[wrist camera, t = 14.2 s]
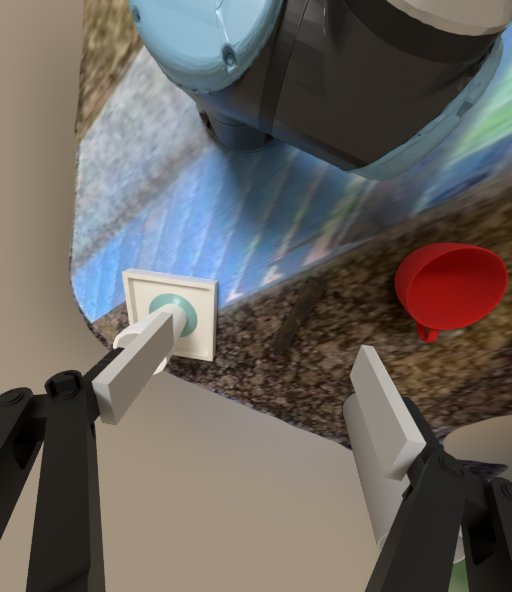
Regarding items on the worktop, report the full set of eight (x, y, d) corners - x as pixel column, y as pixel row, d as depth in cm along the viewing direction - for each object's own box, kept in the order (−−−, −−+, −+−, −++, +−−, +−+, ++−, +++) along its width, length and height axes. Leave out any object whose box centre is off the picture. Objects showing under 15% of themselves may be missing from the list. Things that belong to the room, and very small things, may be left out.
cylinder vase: (335, 393, 57) (368, 528, 34) (390, 382, 54) (466, 522, 31) (349, 428, 61) (386, 568, 38) (400, 419, 58) (474, 566, 35)
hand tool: (309, 272, 46) (311, 281, 41) (327, 282, 46) (330, 291, 42) (263, 341, 54) (261, 354, 49) (278, 349, 54) (278, 362, 50)
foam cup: (184, 341, 54) (155, 383, 42) (147, 321, 53) (107, 359, 41) (200, 310, 50) (174, 347, 39) (161, 289, 49) (122, 320, 38)
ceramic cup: (371, 318, 48) (392, 349, 39) (389, 233, 41) (418, 246, 32) (441, 321, 46) (478, 353, 37) (470, 233, 39) (526, 246, 30)
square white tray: (129, 268, 49) (121, 272, 47) (217, 280, 48) (214, 284, 46) (139, 342, 57) (133, 348, 55) (215, 354, 56) (212, 361, 54)
